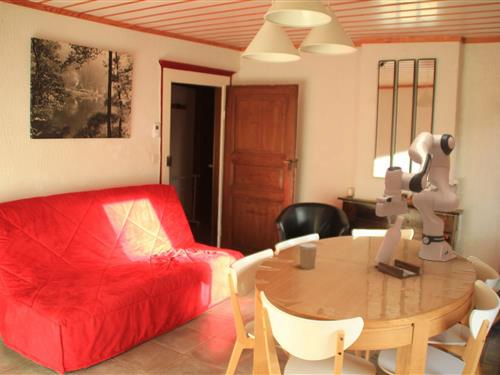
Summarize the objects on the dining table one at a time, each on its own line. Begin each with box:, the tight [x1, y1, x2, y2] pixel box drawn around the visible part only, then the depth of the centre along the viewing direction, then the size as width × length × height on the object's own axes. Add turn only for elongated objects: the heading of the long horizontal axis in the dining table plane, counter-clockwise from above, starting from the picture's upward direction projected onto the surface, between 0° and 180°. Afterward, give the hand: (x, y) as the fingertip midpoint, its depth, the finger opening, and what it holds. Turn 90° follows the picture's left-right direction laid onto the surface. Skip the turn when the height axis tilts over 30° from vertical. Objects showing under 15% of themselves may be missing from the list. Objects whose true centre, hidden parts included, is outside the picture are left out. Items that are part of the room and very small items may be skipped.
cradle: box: [377, 258, 421, 280], centre depth 266 cm, size 14×16×4 cm
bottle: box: [373, 214, 405, 267], centre depth 272 cm, size 8×8×30 cm
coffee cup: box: [299, 242, 318, 270], centre depth 274 cm, size 9×9×12 cm
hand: (391, 223), depth 269 cm, fingers closed
